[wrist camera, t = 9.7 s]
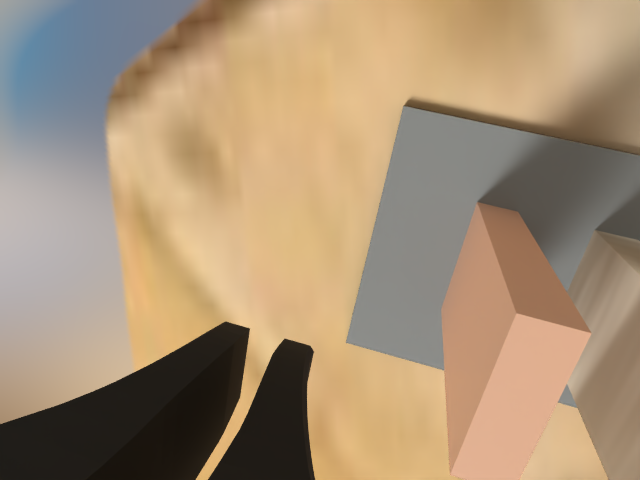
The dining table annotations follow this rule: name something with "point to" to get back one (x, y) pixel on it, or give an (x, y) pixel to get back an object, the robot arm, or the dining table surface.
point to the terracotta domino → (504, 347)
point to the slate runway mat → (457, 210)
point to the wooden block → (610, 351)
